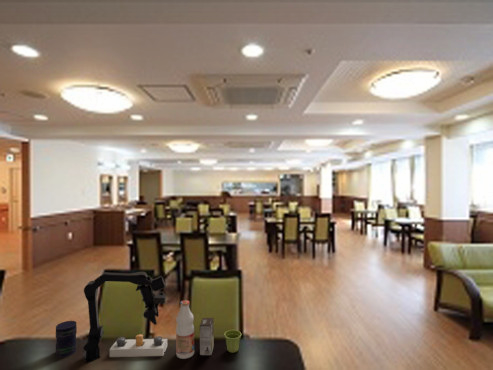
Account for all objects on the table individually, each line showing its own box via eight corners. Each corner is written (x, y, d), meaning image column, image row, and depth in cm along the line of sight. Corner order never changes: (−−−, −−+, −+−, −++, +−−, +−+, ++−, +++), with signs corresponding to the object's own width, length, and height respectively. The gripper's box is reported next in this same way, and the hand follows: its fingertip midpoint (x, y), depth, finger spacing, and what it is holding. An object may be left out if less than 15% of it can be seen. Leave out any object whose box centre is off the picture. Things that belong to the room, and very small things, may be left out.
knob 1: (115, 347, 160) (115, 341, 160) (118, 343, 165) (118, 337, 165) (123, 347, 161) (123, 341, 161) (126, 343, 165) (126, 337, 165)
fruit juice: (173, 352, 161) (173, 301, 161) (190, 347, 166) (189, 297, 166) (180, 361, 153) (179, 306, 153) (197, 355, 159) (196, 302, 159)
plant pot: (242, 345, 168) (242, 330, 168) (240, 355, 159) (240, 338, 159) (225, 344, 169) (225, 329, 169) (222, 354, 160) (222, 338, 160)
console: (109, 357, 158) (109, 349, 158) (117, 346, 168) (117, 339, 168) (163, 355, 158) (163, 348, 158) (167, 345, 168) (167, 338, 168)
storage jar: (60, 359, 156) (59, 331, 156) (52, 353, 162) (52, 325, 162) (80, 351, 164) (80, 323, 164) (72, 345, 170) (72, 319, 170)
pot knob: (134, 347, 161) (134, 337, 161) (137, 343, 165) (137, 334, 165) (141, 346, 161) (141, 337, 161) (144, 343, 165) (144, 333, 165)
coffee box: (202, 346, 168) (202, 317, 168) (213, 346, 168) (213, 317, 168) (199, 355, 159) (199, 325, 159) (211, 355, 159) (211, 325, 159)
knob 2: (152, 346, 161) (152, 340, 161) (155, 342, 165) (154, 336, 165) (160, 346, 161) (160, 340, 161) (163, 342, 166) (162, 336, 166)
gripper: (160, 295, 156) (169, 323, 158) (163, 283, 175) (172, 307, 176) (138, 303, 155) (148, 331, 156) (144, 290, 173) (153, 314, 174)
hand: (156, 320), depth 165 cm, fingers open, 9 cm apart
